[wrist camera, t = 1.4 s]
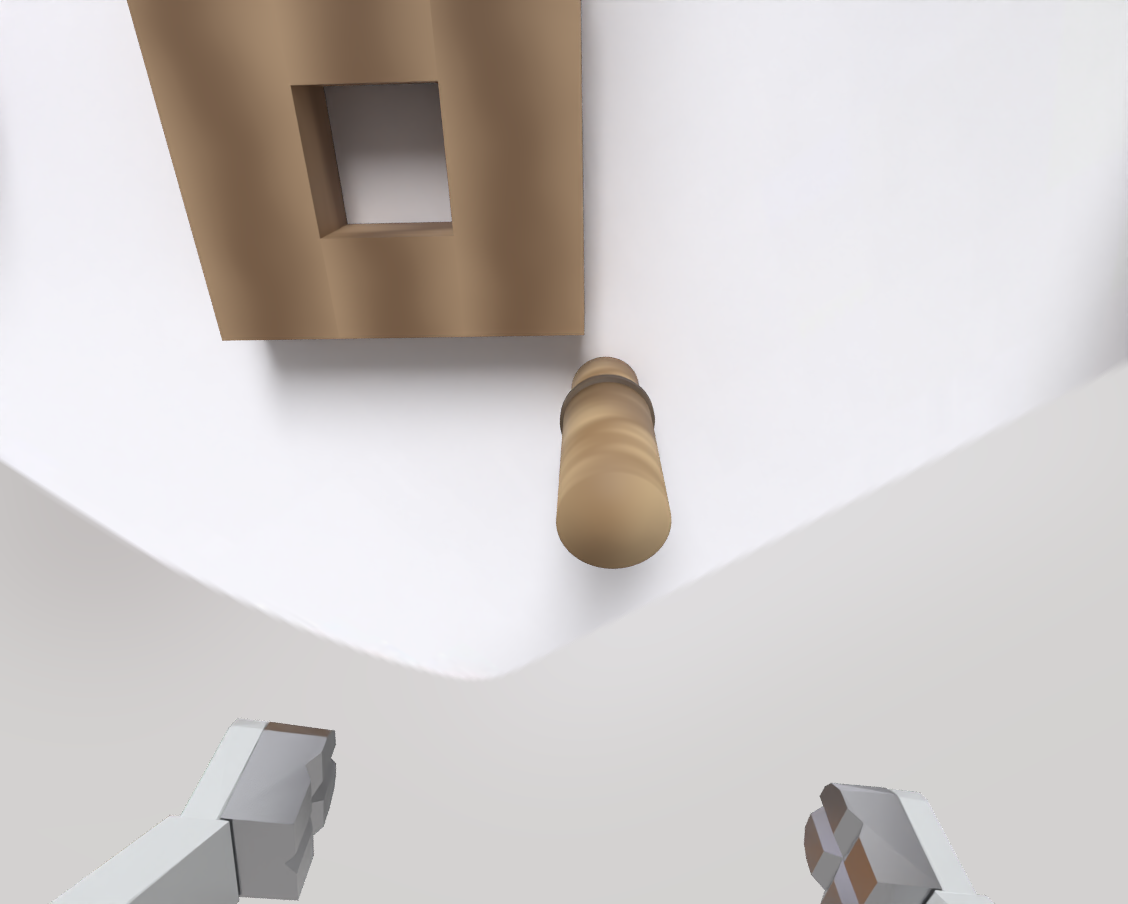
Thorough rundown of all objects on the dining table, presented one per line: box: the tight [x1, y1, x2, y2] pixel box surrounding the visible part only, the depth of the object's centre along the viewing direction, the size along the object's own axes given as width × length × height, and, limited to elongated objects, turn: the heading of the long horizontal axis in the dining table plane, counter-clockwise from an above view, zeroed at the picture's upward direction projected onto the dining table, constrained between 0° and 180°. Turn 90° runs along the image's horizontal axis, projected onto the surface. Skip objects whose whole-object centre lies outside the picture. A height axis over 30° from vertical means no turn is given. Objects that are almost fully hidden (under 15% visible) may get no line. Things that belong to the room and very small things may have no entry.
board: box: [127, 0, 585, 341], centre depth 27 cm, size 16×14×4 cm
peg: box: [556, 357, 671, 569], centre depth 28 cm, size 4×4×12 cm
